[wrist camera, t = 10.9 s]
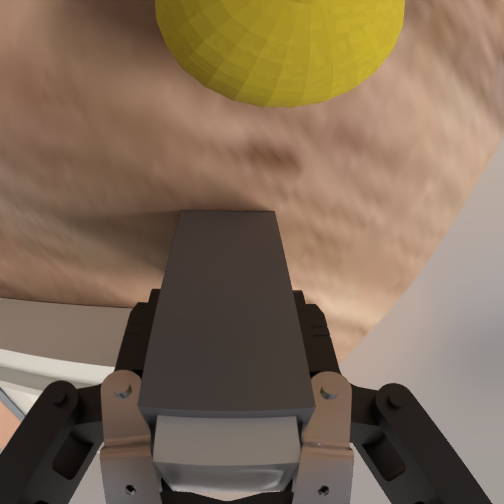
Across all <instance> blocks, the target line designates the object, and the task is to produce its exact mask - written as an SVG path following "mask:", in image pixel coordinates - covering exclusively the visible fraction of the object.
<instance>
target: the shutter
mask: <svg viewBox="0 0 504 504" xmlns="http://www.w3.org/2000/svg"><path fill="white" fill-rule="evenodd" d="M24 418H25V416H24V415H23V414H22V413H21V412H20V411H19V410H18V408H17V407H16V406H15V405H14V404H13V403H12V402H11V401H10V400H9V399H8V398H7V397H6V396H5V394H4V393H3V392H2V391H1V390H0V448H1V449H2V450H4V448H5V446H6V445H7V443H8V442H9V440H10V439H11V437H12V436H13V434H14V433H15V431H16V430H17V428H18V427H19V425H20V424H21V422H22V421H23V419H24Z"/></svg>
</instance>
